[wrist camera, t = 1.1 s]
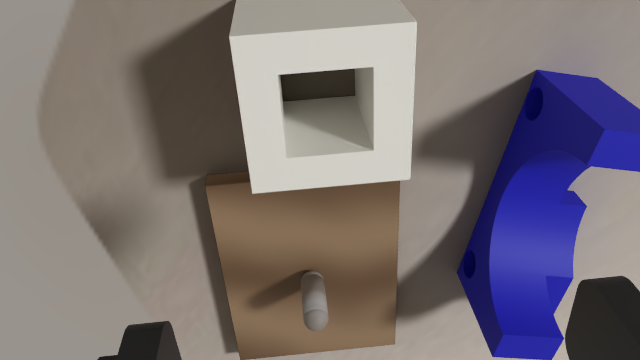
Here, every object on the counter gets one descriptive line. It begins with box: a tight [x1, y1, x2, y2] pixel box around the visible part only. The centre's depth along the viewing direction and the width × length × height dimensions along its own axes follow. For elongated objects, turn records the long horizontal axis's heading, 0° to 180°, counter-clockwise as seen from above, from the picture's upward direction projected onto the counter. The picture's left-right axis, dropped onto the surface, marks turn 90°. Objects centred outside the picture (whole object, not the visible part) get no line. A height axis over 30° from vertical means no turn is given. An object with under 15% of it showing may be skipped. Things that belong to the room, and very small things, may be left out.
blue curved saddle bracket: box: [457, 70, 640, 360], centre depth 25 cm, size 12×4×6 cm, turn 171°
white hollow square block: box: [229, 0, 417, 194], centre depth 21 cm, size 6×6×5 cm
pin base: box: [205, 171, 400, 360], centre depth 27 cm, size 12×9×5 cm
